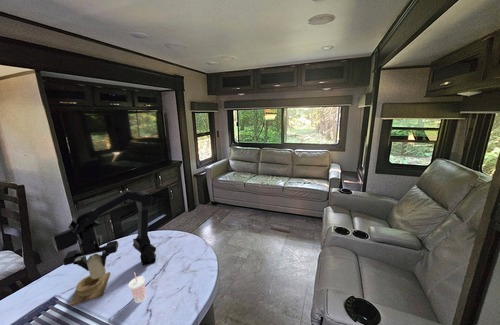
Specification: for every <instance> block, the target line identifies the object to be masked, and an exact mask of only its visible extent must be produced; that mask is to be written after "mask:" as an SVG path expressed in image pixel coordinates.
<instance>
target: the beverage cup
mask: <svg viewBox="0 0 500 325" xmlns="http://www.w3.org/2000/svg"><path fill="white" fill-rule="evenodd" d="M133 274H134V278H133V279H131V280H130V281H129V283H128V288H129V289H130V291H131V295H132V297H133V300H134V302H135V303H136V304H141V303H142V302H144V301H145V300H146V298H147V292H146V291H147V290H146V284H145V282H146V279H145V276H141V275H140V276H137V274H136V272H135V271H134V272H133Z"/></svg>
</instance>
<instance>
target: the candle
mask: <svg viewBox="0 0 500 325" xmlns="http://www.w3.org/2000/svg"><path fill="white" fill-rule="evenodd" d="M101 255H102V254H100V253H95V254H91V255H89V257H88V258H87V261H86V262H87V266H88V269H89V271H88V272H89V275H90V276H91V278H92V279H98V278H100V277H102V276H103V275H104V274H105V273H107V272H106V265H105V266H103V264H102V259H101Z"/></svg>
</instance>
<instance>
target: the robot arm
mask: <svg viewBox="0 0 500 325" xmlns="http://www.w3.org/2000/svg"><path fill="white" fill-rule="evenodd" d="M127 201H134V202H135V204H136V207H137V209H138V210H137V236H136V237H135V238H133V239H132V242H133V244H132V247H133V248H134V249H135V250H136V251H138V252H139V253H140V254H139V255H140V256H139V258H140V261H141V262H140V263H141V265H142V266H146V265H151V264H153V263H156V261H157V254H156V251H157V247H156V246H154V245H153V244H151V240H150V238H149V209H150V208H151V206H152V203H153V196H152V195H151V194H149V193H148V192H146V191H139V192H137V191H135V190H134V191H132V190H129V189H124V190H122V191H121V192H119V193H117V194H115V195H113V196H111V197H109V198H107V199H106V200H103V201H101V202H100V203H98V204H95V205H92V206H87V207H84V208H81V209H79V210H77V211H75V212H74V213H73V214H72V220H71V222H70V223H69V224H68V229H67V230H65V231H61V232H59V233H55V234H53V235H52V239H53V240H52V243H53V246H54V248H55V250H56V253H58V252H62V251H63V250H65V249H68V248H70V247H73V246H75V245H76V244H78V242H79V241H80V245H79V247H80V248H81V249H82V251H80V249H75V250H70V251H68V252H67V253H66V254H65V255H64V257H63V259H62V264H63V266H69V265H72V264H73V266H74V265H76V266H79V267H81V268H83V269H84V270H85V271H87V272H89V269H88V266H87V262H86V261H87V260H88V258H87V256H91V255H94V254H100V253H101V254H100V255H101V259H102V264H103V266H105V267H106V263H107V257H109V256H110V255H111V254H115V253H116V252H117V251H118V249H119V245H120V244H119V241H117V240H113V241H108V242H107V243H106V244H105V245H103V246H102V243H103V235H102V234H100V235H97V232H96V227H98V226H100V225H101V223H100V222H99V221H98V219H99V218H100V217H101V216H102V215H103V214H105V213H106V212H108V211H110V210H112V209H114V208H116V207H117V206H119V205H121V204H123V203H125V202H127ZM100 246H101V247H100Z"/></svg>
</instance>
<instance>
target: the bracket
mask: <svg viewBox="0 0 500 325" xmlns="http://www.w3.org/2000/svg"><path fill="white" fill-rule="evenodd" d="M110 276H111V272H109V271H108V272H105V274H104V275H103V276H102V277H100V278H98V279H92V278H91V276H90V274H89V275H88V276H85V277H84V278H83V279H81V280H80V281H79V282H78V283H77V285H76V287H75V291H74V293H73V296H72V298H71V300H70V302H69V304H68V306H69V307H72V306H76V305H81V304H82V303H85V302H89V301H92V300H96V299H98V298H101V297H104V294H105V290H106V288H107V285H108V282H109V278H110Z"/></svg>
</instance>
